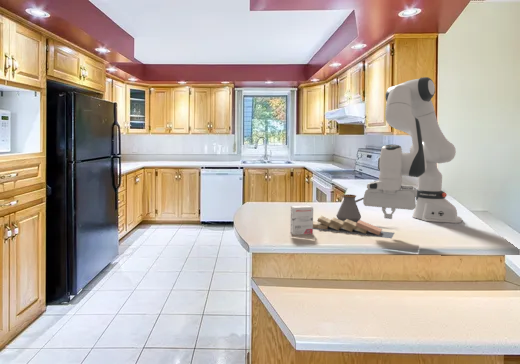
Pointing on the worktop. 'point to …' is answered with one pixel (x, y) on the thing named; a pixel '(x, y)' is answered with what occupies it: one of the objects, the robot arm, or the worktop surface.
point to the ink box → (301, 220)
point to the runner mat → (382, 234)
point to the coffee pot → (349, 209)
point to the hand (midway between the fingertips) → (388, 218)
